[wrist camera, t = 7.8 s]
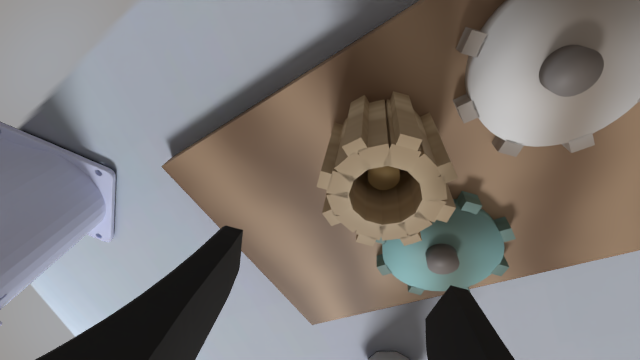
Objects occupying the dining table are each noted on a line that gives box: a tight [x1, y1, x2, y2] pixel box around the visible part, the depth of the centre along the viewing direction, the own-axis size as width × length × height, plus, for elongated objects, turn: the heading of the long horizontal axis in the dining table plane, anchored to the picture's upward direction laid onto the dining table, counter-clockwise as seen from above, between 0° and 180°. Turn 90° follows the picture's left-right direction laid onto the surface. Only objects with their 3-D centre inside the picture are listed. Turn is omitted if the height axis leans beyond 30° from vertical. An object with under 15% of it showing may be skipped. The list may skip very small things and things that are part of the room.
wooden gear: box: [317, 91, 458, 246], centre depth 14 cm, size 6×6×5 cm
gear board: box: [162, 0, 640, 325], centre depth 17 cm, size 26×18×5 cm
